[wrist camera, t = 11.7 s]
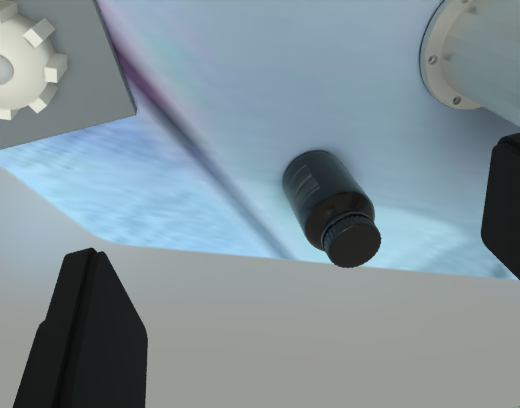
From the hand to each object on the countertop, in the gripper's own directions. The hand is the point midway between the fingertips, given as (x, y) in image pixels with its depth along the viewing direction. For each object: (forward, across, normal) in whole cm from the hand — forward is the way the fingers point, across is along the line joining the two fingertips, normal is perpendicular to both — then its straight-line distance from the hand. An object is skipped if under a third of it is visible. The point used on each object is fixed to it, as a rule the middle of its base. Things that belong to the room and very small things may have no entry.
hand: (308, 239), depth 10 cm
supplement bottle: (+31, -7, +18) cm, 36 cm away
